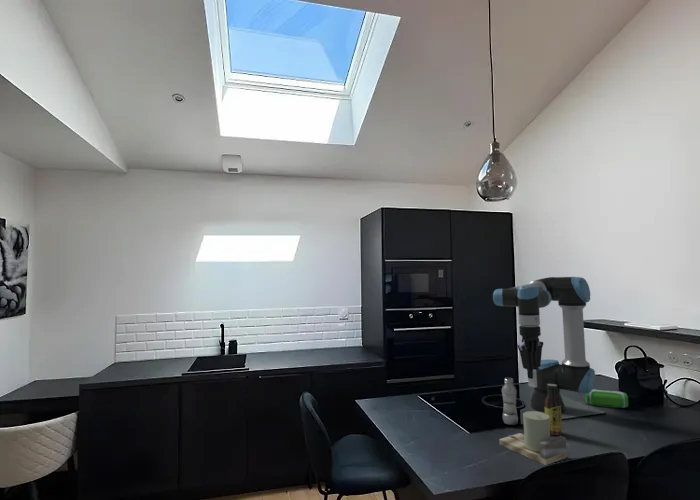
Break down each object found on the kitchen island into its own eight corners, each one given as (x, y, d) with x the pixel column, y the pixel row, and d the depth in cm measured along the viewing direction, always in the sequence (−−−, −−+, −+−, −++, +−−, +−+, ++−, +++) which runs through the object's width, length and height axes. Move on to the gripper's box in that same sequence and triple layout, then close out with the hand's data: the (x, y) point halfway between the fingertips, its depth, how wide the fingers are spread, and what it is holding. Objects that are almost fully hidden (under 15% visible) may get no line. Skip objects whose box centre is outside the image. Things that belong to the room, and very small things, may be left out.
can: (532, 453, 144) (530, 419, 145) (519, 442, 154) (518, 410, 154) (556, 451, 145) (554, 417, 146) (542, 440, 154) (540, 409, 155)
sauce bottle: (555, 437, 163) (553, 387, 164) (541, 432, 169) (539, 384, 170) (565, 434, 166) (563, 385, 167) (552, 429, 172) (549, 382, 173)
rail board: (499, 444, 157) (498, 426, 158) (519, 437, 163) (519, 420, 164) (545, 465, 140) (544, 444, 140) (566, 457, 146) (565, 437, 146)
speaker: (625, 405, 200) (624, 390, 200) (629, 410, 193) (628, 394, 194) (585, 401, 207) (584, 386, 207) (587, 406, 200) (586, 390, 201)
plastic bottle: (517, 422, 180) (516, 377, 181) (518, 427, 174) (517, 380, 175) (502, 420, 182) (500, 376, 183) (503, 426, 176) (501, 379, 177)
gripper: (527, 328, 150) (530, 392, 149) (548, 324, 157) (552, 385, 156) (510, 326, 157) (513, 387, 156) (531, 322, 163) (534, 381, 162)
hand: (532, 386), depth 156 cm, fingers closed
